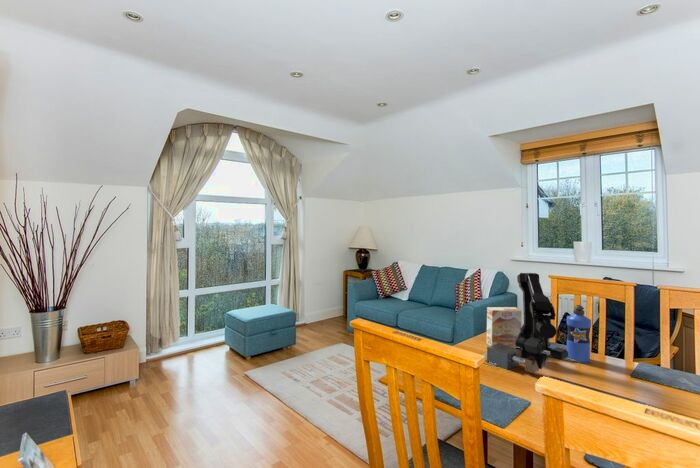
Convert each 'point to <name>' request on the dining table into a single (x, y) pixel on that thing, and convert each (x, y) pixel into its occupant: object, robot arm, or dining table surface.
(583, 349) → the water bottle
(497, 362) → the housing
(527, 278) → the robot arm
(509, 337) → the coffeecake box
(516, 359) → the shaft
